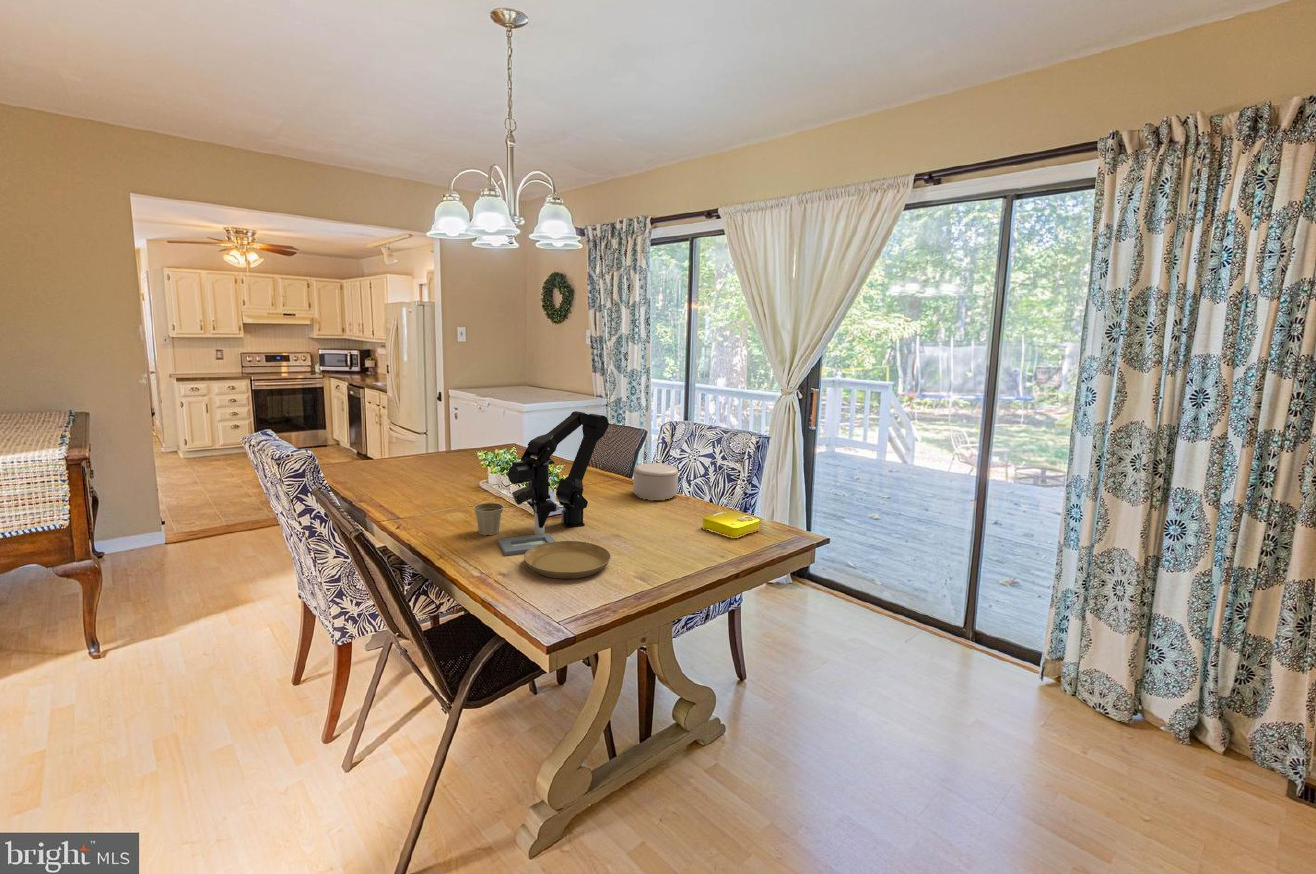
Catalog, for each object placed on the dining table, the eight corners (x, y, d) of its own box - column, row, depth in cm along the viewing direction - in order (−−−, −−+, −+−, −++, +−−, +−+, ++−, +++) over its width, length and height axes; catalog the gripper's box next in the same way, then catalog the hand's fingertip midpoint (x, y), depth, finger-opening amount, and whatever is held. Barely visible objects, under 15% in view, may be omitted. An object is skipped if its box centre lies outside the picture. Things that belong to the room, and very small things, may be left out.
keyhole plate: (548, 536, 197) (548, 533, 197) (559, 549, 187) (559, 545, 186) (497, 542, 191) (497, 538, 191) (505, 555, 180) (505, 551, 180)
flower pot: (495, 538, 194) (495, 512, 192) (468, 535, 196) (467, 509, 194) (508, 529, 203) (508, 504, 201) (482, 526, 205) (482, 501, 203)
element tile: (727, 520, 222) (727, 508, 221) (761, 531, 212) (762, 518, 211) (699, 529, 212) (700, 515, 211) (734, 540, 201) (734, 526, 200)
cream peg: (543, 531, 202) (543, 506, 201) (545, 534, 199) (545, 508, 198) (533, 532, 201) (533, 507, 199) (535, 535, 198) (535, 509, 197)
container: (637, 502, 240) (637, 472, 238) (629, 490, 257) (630, 462, 255) (682, 501, 244) (683, 472, 242) (671, 489, 261) (673, 462, 259)
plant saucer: (620, 556, 184) (621, 545, 183) (594, 588, 161) (594, 576, 160) (545, 547, 189) (545, 536, 189) (508, 577, 166) (508, 565, 165)
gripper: (508, 474, 202) (508, 520, 205) (520, 488, 185) (520, 538, 188) (542, 471, 207) (541, 516, 209) (557, 485, 190) (556, 534, 193)
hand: (539, 526), depth 200 cm, fingers closed on cream peg, 3 cm apart
